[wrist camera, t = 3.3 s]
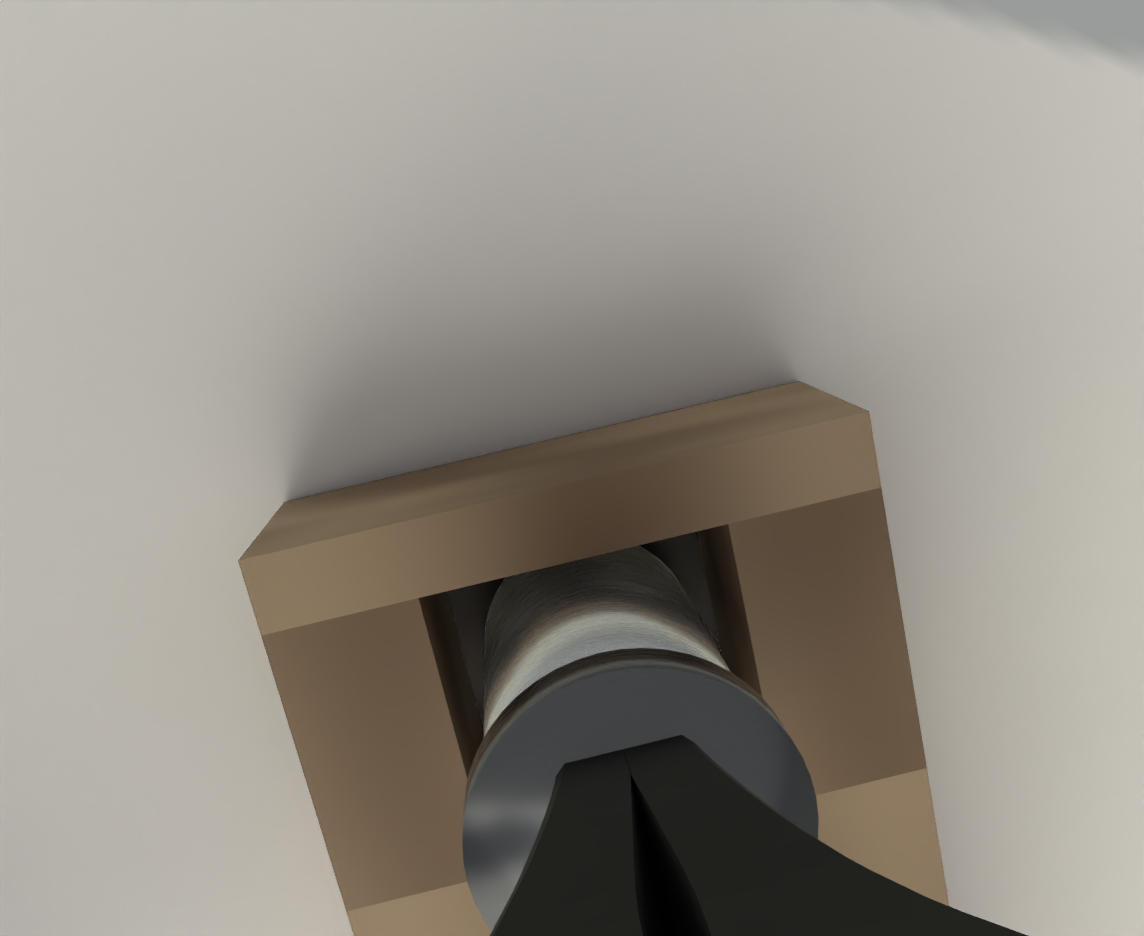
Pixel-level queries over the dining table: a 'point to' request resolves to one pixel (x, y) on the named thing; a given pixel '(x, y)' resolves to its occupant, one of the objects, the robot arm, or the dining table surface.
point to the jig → (568, 533)
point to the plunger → (604, 703)
